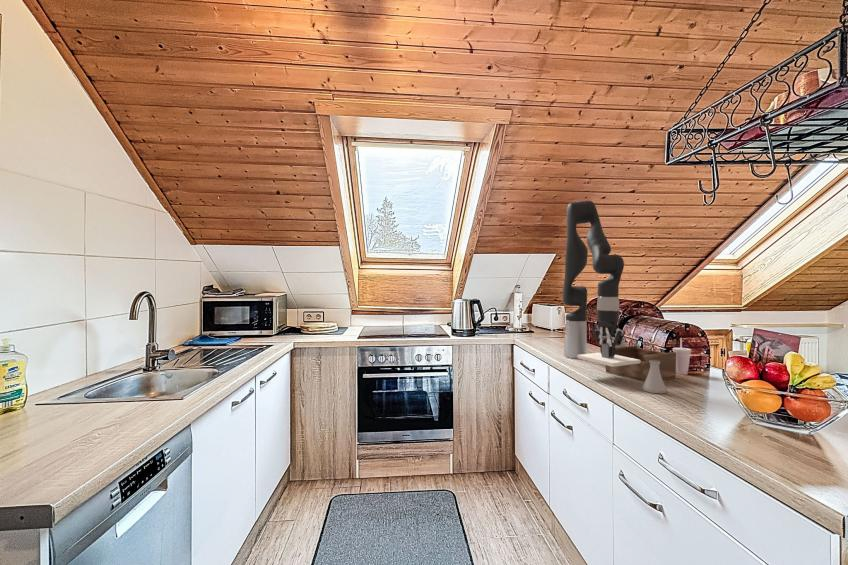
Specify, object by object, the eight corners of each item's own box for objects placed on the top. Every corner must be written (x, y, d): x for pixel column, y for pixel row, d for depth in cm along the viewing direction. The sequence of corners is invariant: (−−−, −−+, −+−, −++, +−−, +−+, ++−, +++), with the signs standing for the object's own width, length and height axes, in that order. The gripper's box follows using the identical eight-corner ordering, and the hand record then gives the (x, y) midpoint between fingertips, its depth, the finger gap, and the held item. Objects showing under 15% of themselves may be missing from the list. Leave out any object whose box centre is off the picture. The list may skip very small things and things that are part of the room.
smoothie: (668, 372, 169) (668, 337, 168) (679, 371, 171) (679, 336, 171) (684, 376, 163) (684, 339, 163) (695, 374, 166) (695, 338, 165)
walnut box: (605, 372, 170) (605, 348, 170) (634, 368, 176) (634, 345, 176) (645, 382, 153) (645, 356, 153) (675, 378, 160) (676, 352, 160)
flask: (671, 394, 139) (671, 363, 139) (649, 394, 139) (649, 363, 138) (659, 388, 146) (659, 359, 146) (638, 388, 146) (638, 359, 146)
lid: (577, 358, 163) (577, 341, 163) (603, 355, 168) (603, 339, 168) (612, 366, 148) (612, 348, 148) (640, 363, 153) (640, 345, 153)
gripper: (585, 307, 163) (585, 353, 163) (616, 310, 150) (615, 360, 150) (600, 307, 166) (600, 351, 166) (631, 310, 153) (631, 358, 153)
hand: (607, 355), depth 158 cm, fingers closed on lid, 3 cm apart
